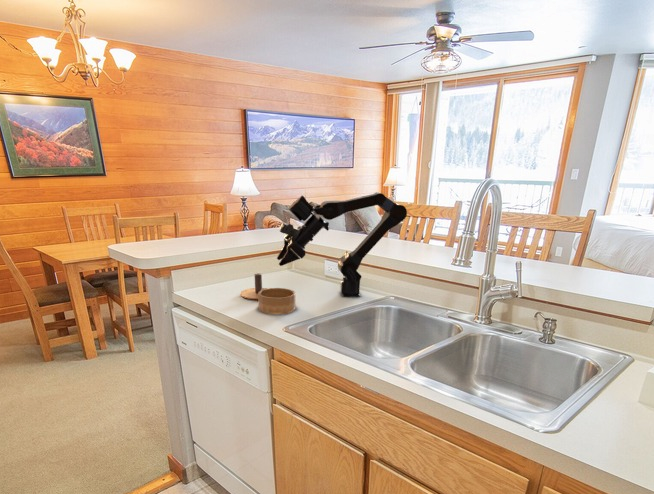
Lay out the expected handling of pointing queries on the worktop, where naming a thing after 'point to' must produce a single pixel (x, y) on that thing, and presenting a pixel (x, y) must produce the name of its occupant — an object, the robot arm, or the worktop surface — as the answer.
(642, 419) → the worktop surface
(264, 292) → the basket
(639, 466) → the worktop surface
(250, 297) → the lid
